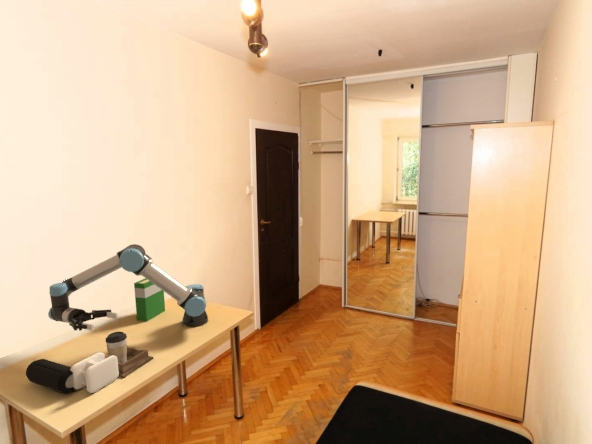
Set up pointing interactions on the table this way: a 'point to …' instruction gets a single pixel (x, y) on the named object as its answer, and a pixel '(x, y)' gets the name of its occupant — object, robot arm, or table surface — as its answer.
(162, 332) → the table surface
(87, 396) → the table surface
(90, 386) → the cable organizer
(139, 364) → the brown wooden tray
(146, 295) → the hardback book
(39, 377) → the portable speaker
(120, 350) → the coffee cup
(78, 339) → the table surface
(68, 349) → the table surface
